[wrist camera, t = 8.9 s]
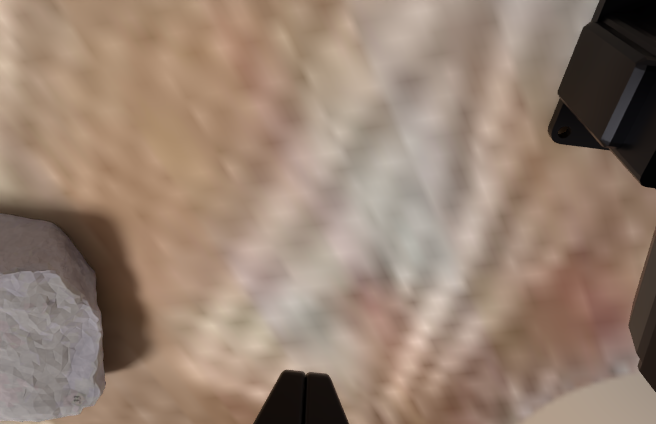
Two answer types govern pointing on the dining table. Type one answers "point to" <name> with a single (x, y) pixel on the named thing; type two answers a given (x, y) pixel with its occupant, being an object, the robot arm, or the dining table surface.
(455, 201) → the dining table surface
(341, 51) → the dining table surface
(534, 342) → the dining table surface
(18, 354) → the stone block
